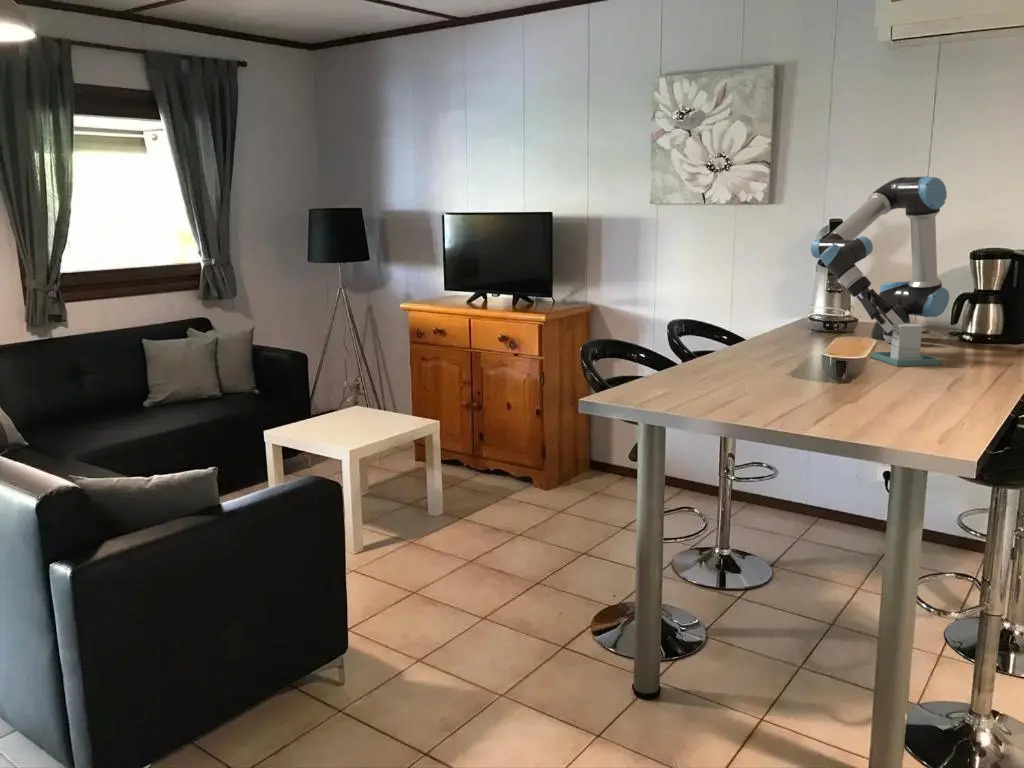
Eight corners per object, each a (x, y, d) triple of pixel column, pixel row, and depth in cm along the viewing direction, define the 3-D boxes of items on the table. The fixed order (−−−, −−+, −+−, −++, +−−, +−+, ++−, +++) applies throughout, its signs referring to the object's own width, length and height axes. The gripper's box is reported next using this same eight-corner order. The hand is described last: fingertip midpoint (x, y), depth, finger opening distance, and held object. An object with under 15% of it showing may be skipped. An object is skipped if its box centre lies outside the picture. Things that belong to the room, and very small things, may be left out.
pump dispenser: (875, 342, 331) (879, 304, 328) (894, 340, 336) (897, 303, 332) (896, 346, 322) (900, 307, 319) (915, 344, 327) (919, 305, 323)
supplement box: (911, 358, 295) (914, 322, 292) (919, 362, 288) (923, 325, 285) (889, 357, 295) (893, 322, 293) (897, 361, 288) (900, 325, 285)
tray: (870, 357, 298) (871, 352, 298) (912, 356, 300) (912, 351, 300) (896, 366, 283) (897, 360, 282) (940, 365, 285) (941, 359, 284)
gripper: (857, 286, 308) (896, 330, 303) (836, 292, 289) (877, 339, 283) (873, 272, 304) (913, 317, 298) (853, 277, 285) (895, 325, 279)
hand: (896, 328), depth 291 cm, fingers open, 13 cm apart
